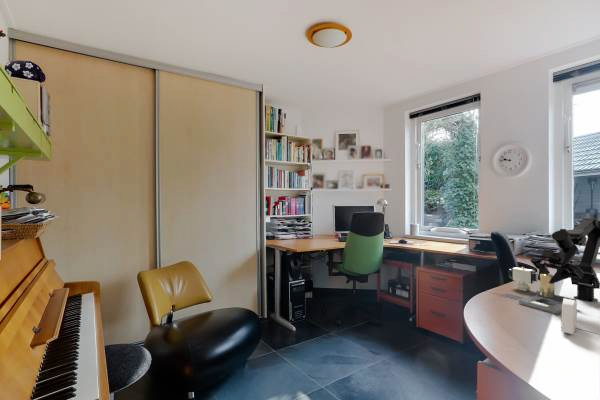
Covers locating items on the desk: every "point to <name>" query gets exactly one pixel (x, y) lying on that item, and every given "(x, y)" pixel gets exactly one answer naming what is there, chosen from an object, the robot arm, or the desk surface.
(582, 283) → the robot arm
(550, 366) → the desk surface
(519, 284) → the pneumatic valve
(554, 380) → the desk surface
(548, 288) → the brass knob
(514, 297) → the grey square plate
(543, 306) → the plate
